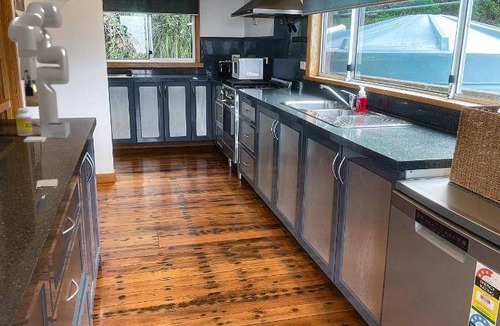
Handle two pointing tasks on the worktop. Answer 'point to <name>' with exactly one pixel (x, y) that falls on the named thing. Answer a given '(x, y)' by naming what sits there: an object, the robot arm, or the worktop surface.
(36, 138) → the tile
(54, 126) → the housing
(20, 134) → the supplement bottle
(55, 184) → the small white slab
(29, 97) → the tan capped cylinder
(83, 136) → the worktop surface
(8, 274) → the worktop surface
